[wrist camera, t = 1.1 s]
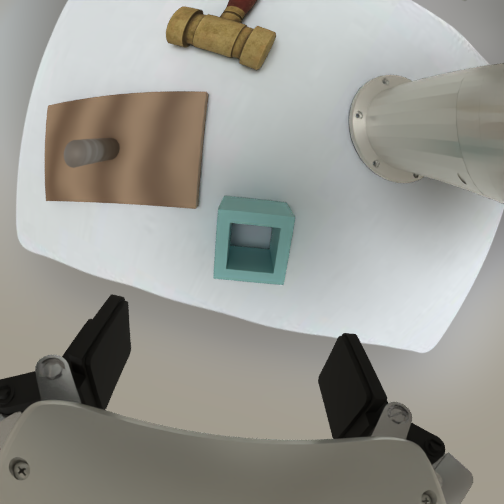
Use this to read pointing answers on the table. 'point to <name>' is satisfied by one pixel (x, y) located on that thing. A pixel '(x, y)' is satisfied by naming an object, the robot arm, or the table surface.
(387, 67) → the table surface
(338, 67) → the table surface
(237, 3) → the gavel
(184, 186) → the post stand
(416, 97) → the robot arm
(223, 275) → the collar
